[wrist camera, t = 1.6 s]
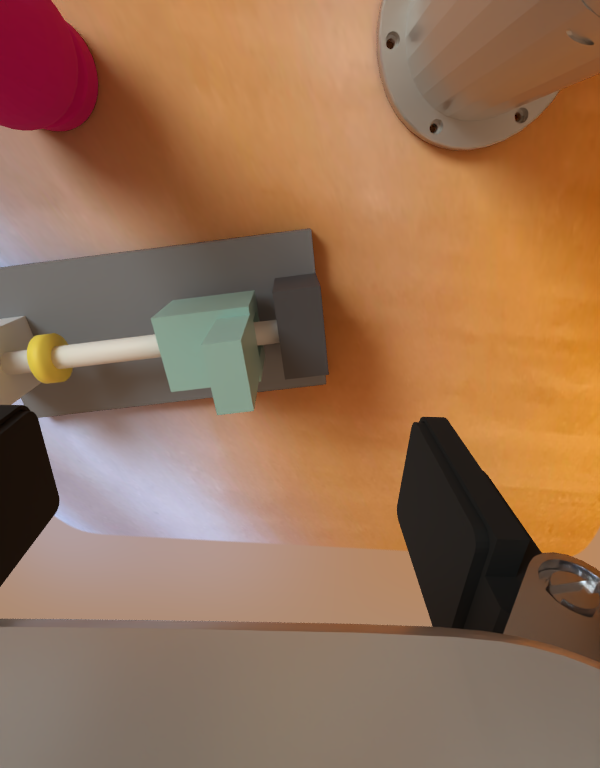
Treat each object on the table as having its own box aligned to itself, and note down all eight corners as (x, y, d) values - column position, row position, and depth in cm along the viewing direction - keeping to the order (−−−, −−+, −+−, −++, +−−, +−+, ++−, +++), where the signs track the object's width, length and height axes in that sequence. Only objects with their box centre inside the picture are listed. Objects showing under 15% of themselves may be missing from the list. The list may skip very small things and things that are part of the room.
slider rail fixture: (310, 228, 30) (317, 237, 22) (324, 377, 34) (335, 427, 27) (-21, 270, 30) (-128, 293, 22) (40, 410, 35) (-30, 469, 27)
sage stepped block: (254, 290, 29) (238, 330, 20) (265, 355, 31) (255, 418, 22) (172, 300, 29) (118, 345, 20) (188, 364, 31) (146, 431, 22)
